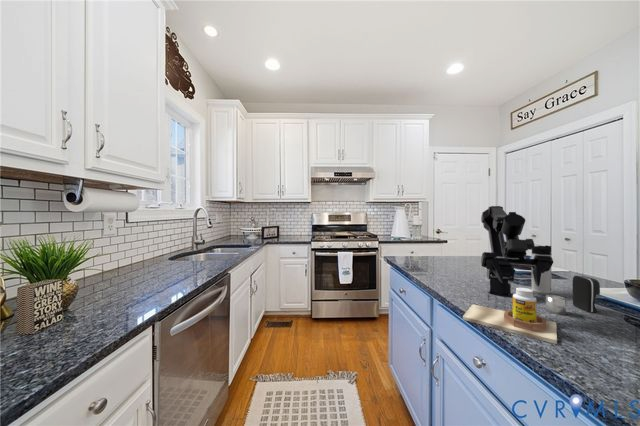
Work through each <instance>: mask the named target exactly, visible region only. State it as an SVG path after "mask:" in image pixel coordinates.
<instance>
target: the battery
mask: <svg viewBox="0 0 640 426" xmlns="http://www.w3.org/2000/svg"><path fill="white" fill-rule="evenodd" d="M599 295H601V286H600V282H599V280H597V279H595V278H594V277H593V278H592V277H588V276H586V275H585V276H584V275H574V276H573V277H572V305H573V306H574V307H576V308H578V309H580V310H583V311H585V312H589V313H597V312H598V309H597V308H596V306H595V305H596V304H595V303H596V297H597V296H599Z"/></svg>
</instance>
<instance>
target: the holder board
mask: <svg viewBox="0 0 640 426" xmlns="http://www.w3.org/2000/svg"><path fill="white" fill-rule="evenodd" d="M462 320H463V321H467V322H470V323H474V324H479V325H482V326H484V327H485V326H486V327H490V328H493V329H497V330H501V331H505V332H509V333H513V334H515V335H520V336H525V337H528V338H532V339H535V340H539V341H542V342H547V343H551V344H555V345H558V337H557V334H558V333H557V322H556V321H552V320H547V318H544V317H542V316H540V315H538V314H536V323H529V322H525V321H521V320H516V319H514V318H513V309H511V310H500V309H497V308H496V309H495V308H492V307H491V308H490V307H487V306H482V305H477V304H474V303H473V304H471V306H470V307H469V308H468V309H467V310H466V311H465V313H464V315H463V316H462Z"/></svg>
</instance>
